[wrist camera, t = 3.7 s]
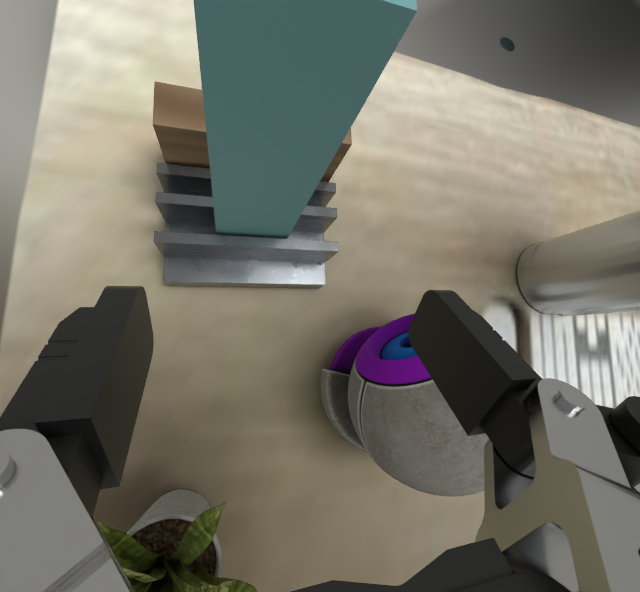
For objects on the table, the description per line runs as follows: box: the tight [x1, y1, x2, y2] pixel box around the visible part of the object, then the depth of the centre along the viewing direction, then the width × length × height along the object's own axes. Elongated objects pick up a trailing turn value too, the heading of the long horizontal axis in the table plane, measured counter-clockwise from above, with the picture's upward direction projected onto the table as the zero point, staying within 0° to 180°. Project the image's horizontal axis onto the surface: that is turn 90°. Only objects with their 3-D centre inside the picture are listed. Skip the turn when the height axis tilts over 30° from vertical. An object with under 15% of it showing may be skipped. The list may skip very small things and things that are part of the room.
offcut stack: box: [153, 82, 352, 182], centre depth 25 cm, size 3×13×9 cm, turn 92°
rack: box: [154, 163, 339, 288], centre depth 28 cm, size 14×14×6 cm
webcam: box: [321, 314, 489, 496], centre depth 25 cm, size 13×13×15 cm
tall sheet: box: [194, 0, 417, 239], centre depth 18 cm, size 2×6×22 cm, turn 92°
